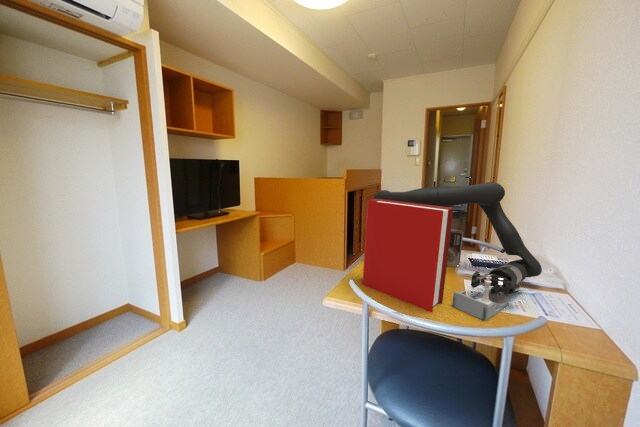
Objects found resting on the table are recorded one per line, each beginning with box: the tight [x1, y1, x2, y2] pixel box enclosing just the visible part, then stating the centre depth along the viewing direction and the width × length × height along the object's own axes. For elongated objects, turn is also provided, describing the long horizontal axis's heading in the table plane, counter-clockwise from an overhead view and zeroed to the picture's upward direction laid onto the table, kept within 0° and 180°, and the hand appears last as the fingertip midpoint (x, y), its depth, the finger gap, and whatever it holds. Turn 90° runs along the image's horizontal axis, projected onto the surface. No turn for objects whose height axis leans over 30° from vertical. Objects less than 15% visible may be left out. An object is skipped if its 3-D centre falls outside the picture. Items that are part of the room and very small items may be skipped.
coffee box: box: [447, 228, 464, 268], centre depth 126 cm, size 9×6×16 cm
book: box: [362, 198, 454, 313], centre depth 93 cm, size 27×8×32 cm, turn 45°
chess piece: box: [476, 275, 493, 305], centre depth 89 cm, size 5×5×10 cm
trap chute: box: [451, 290, 511, 322], centre depth 88 cm, size 10×17×5 cm, turn 124°
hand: (482, 287), depth 87 cm, fingers open, 5 cm apart
